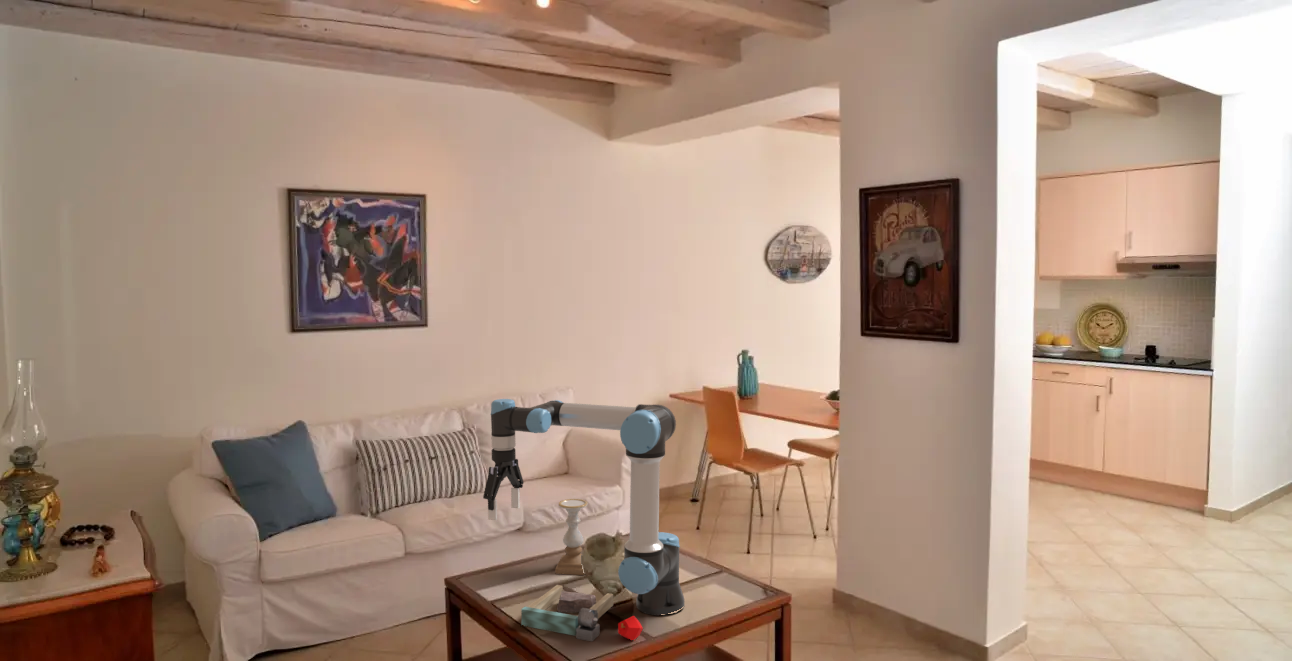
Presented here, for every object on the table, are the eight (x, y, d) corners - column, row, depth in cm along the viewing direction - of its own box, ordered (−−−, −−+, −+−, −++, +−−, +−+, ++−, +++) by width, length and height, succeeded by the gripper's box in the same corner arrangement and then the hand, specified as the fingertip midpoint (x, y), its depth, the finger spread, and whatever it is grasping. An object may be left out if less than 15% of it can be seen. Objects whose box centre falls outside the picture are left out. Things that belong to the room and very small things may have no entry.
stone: (594, 614, 255) (594, 599, 254) (556, 614, 255) (555, 600, 254) (596, 602, 264) (596, 588, 263) (559, 602, 264) (559, 588, 263)
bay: (613, 605, 261) (613, 589, 261) (578, 636, 239) (578, 619, 239) (557, 595, 269) (557, 580, 269) (518, 624, 247) (518, 608, 246)
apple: (635, 611, 244) (617, 609, 238) (650, 622, 239) (632, 621, 233) (626, 633, 243) (607, 632, 238) (641, 645, 239) (623, 644, 233)
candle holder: (561, 562, 298) (560, 497, 297) (591, 564, 297) (591, 498, 295) (554, 574, 288) (554, 506, 286) (585, 575, 286) (585, 507, 285)
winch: (601, 634, 240) (601, 607, 240) (593, 641, 236) (593, 614, 235) (582, 631, 243) (582, 604, 242) (574, 638, 238) (574, 611, 237)
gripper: (513, 439, 276) (514, 502, 278) (471, 455, 253) (472, 523, 255) (533, 441, 273) (534, 504, 275) (492, 457, 250) (493, 526, 252)
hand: (504, 513), depth 265 cm, fingers open, 13 cm apart
